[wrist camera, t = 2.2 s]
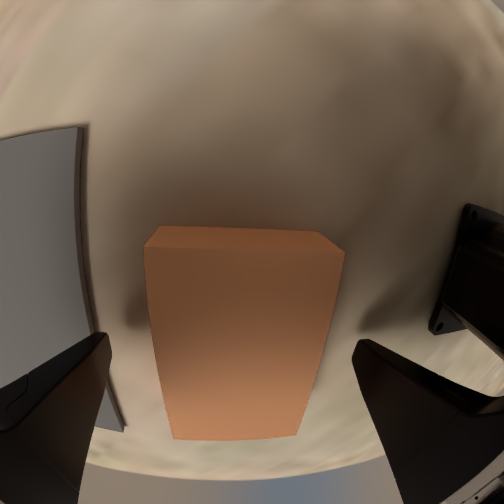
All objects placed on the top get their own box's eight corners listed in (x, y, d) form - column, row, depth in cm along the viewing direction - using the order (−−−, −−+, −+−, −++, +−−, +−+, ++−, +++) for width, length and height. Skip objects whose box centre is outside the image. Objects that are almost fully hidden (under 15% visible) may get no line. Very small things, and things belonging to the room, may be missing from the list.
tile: (313, 228, 9) (345, 252, 7) (284, 394, 12) (295, 435, 9) (162, 223, 8) (143, 246, 6) (177, 396, 11) (173, 438, 9)
